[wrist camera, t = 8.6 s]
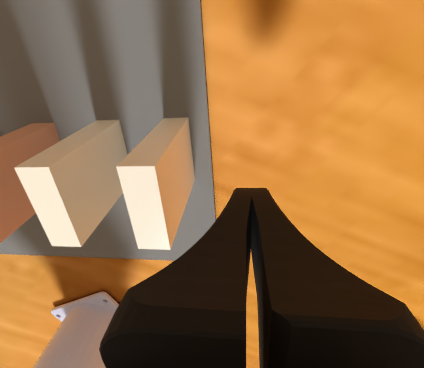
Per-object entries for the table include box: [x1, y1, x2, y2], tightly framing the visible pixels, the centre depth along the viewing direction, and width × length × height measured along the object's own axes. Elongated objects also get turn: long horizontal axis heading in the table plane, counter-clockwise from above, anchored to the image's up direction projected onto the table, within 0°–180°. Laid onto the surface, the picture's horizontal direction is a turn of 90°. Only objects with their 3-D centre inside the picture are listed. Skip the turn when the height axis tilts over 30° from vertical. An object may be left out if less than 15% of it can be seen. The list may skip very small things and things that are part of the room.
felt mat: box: [0, 0, 216, 260], centre depth 19 cm, size 26×22×1 cm
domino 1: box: [0, 123, 60, 243], centre depth 16 cm, size 2×4×7 cm, turn 3°
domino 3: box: [116, 117, 195, 250], centre depth 14 cm, size 2×4×7 cm, turn 3°
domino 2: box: [14, 120, 127, 247], centre depth 15 cm, size 2×4×7 cm, turn 4°
